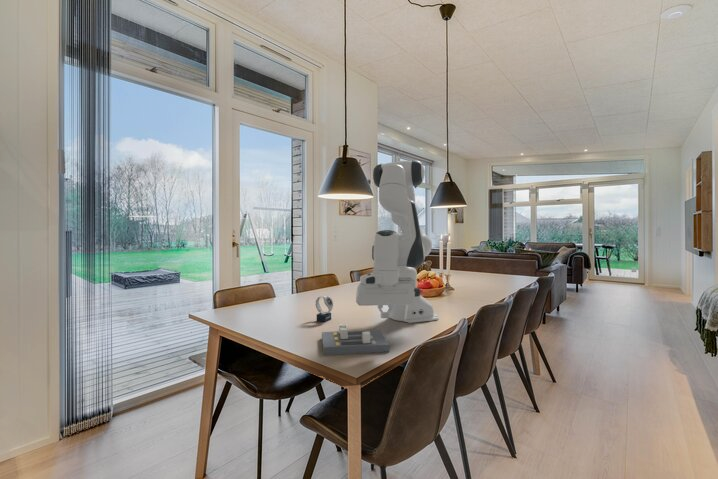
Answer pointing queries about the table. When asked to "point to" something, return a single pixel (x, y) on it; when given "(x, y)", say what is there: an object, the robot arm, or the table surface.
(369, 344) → the breaker panel
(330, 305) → the watch
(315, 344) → the table surface
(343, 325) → the breaker handle far
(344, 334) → the breaker handle middle
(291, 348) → the table surface
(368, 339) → the breaker handle
